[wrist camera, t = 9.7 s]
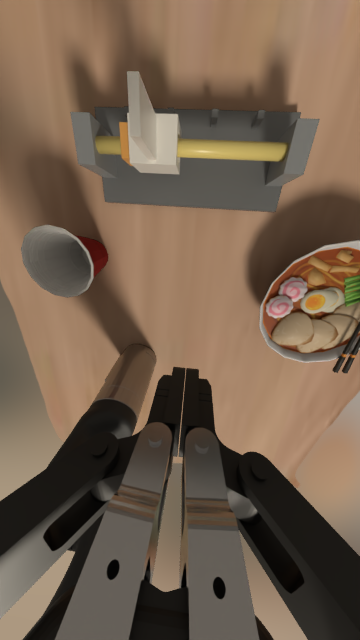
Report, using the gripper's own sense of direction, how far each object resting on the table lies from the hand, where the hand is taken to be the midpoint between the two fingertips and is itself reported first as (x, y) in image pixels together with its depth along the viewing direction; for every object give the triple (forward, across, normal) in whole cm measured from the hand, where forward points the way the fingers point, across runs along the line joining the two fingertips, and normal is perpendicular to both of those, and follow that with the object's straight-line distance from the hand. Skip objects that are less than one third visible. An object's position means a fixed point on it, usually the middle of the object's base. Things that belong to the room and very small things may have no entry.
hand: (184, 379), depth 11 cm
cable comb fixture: (+30, +2, -18) cm, 35 cm away
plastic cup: (+31, +21, -3) cm, 37 cm away
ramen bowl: (+31, -24, +2) cm, 39 cm away
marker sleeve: (+25, +7, -18) cm, 32 cm away
